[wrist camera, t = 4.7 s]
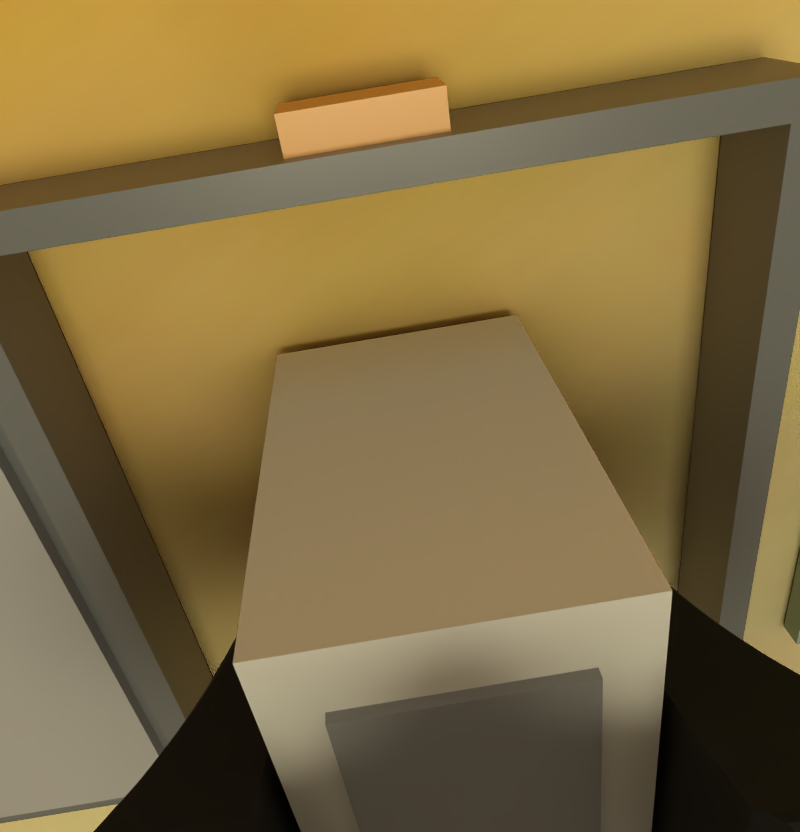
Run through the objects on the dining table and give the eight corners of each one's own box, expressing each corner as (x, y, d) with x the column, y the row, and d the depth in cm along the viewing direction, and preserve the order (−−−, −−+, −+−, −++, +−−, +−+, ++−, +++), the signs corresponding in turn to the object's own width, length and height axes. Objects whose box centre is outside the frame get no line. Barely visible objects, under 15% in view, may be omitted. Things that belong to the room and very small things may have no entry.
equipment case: (769, 15, 11) (849, 21, 9) (691, 667, 19) (726, 733, 18) (-681, 258, 11) (-862, 307, 9) (-138, 804, 20) (-182, 883, 18)
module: (516, 315, 13) (678, 601, 7) (534, 613, 17) (645, 955, 11) (277, 355, 13) (230, 674, 7) (353, 643, 17) (365, 1000, 11)
